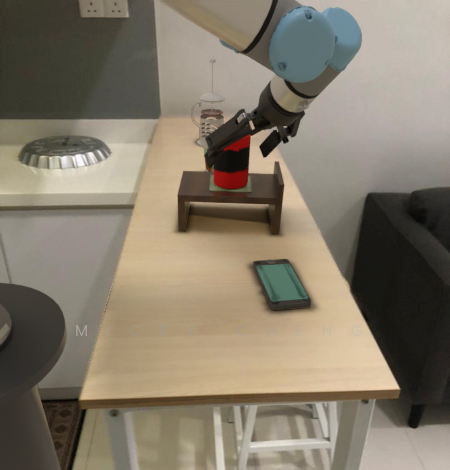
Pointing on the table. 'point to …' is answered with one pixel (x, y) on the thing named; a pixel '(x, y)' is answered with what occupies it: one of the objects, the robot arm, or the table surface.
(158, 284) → the table surface
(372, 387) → the table surface
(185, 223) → the shelf
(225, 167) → the soda can
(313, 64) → the robot arm
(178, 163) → the table surface
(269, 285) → the smartphone
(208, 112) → the french press
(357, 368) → the table surface
